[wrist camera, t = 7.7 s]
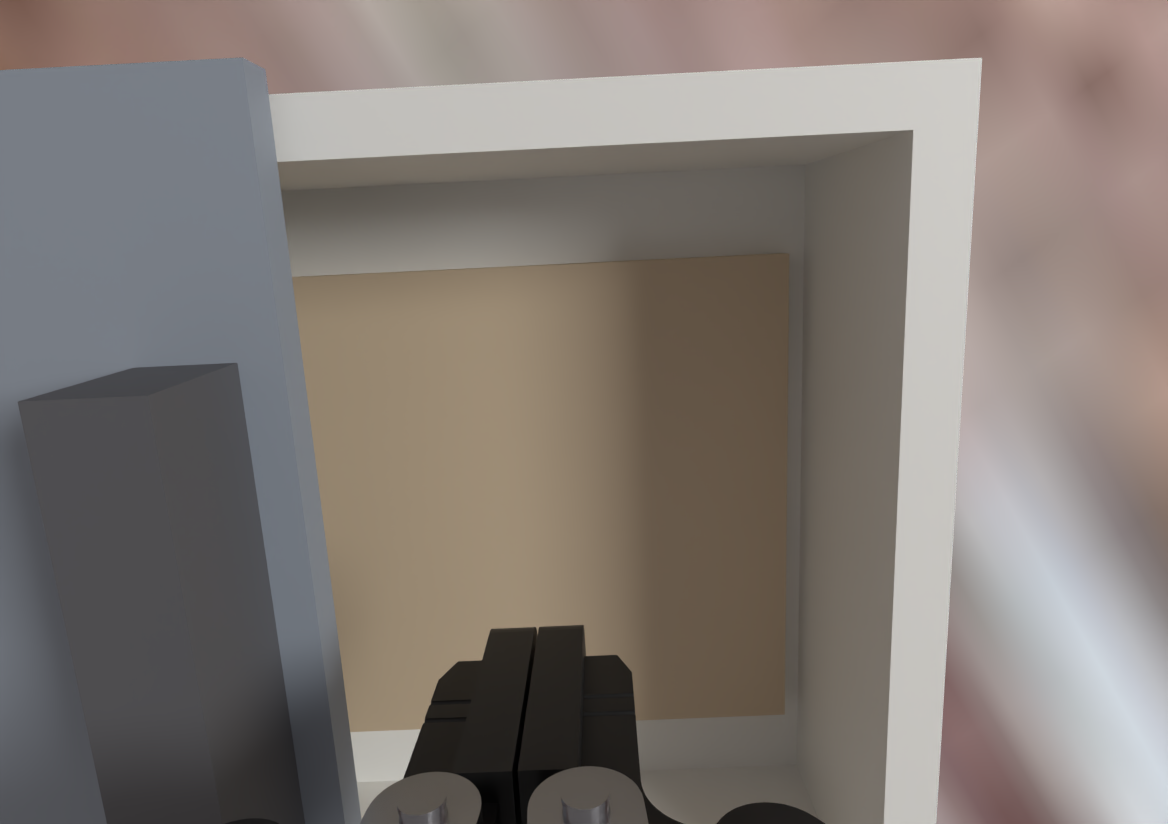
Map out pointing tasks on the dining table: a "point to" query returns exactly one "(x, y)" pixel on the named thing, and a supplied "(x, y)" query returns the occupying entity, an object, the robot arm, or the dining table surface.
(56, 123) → the lid
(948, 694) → the dining table surface
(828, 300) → the box
